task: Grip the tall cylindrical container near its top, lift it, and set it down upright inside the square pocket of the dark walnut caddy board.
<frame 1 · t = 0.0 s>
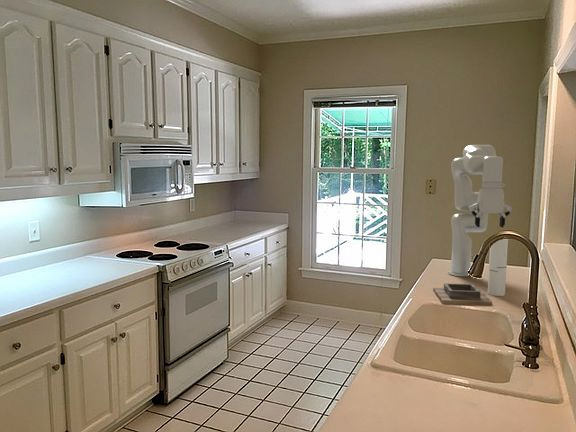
hand: (489, 226, 209), 31 cm above the countertop, tool pointing down, fingers open, 9 cm apart
cylindrical container: (496, 294, 221), on the countertop
walnut caddy: (461, 297, 214), on the countertop
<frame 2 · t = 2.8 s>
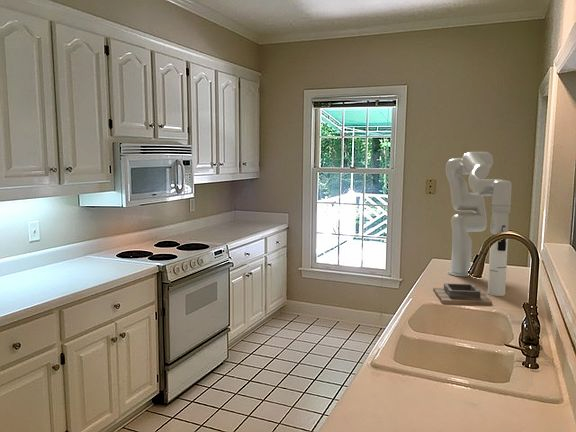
hand: (498, 248, 218), 20 cm above the countertop, tool pointing down, fingers closed on cylindrical container, 7 cm apart
cylindrical container: (496, 294, 221), on the countertop, touching gripper
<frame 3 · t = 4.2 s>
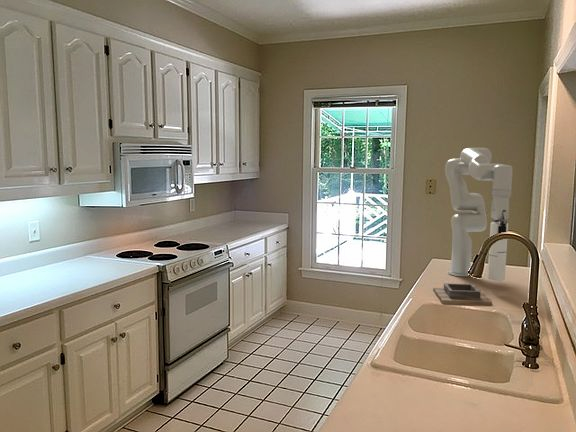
hand: (498, 233, 218), 27 cm above the countertop, tool pointing down, fingers closed on cylindrical container, 7 cm apart
cylindrical container: (495, 279, 221), point 6 cm above the countertop, touching gripper
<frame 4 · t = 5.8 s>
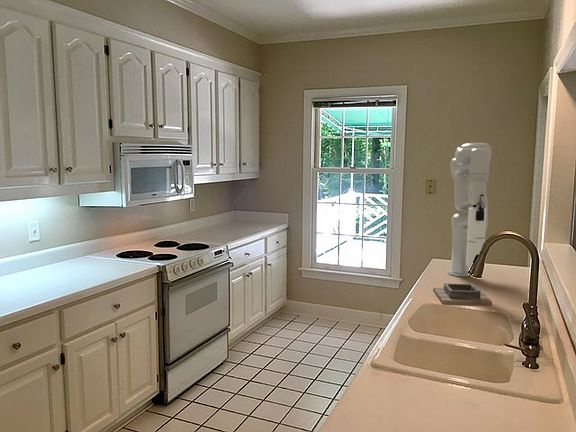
hand: (476, 219, 212), 34 cm above the countertop, tool pointing down, fingers closed on cylindrical container, 7 cm apart
cylindrical container: (474, 266, 215), point 13 cm above the countertop, touching gripper
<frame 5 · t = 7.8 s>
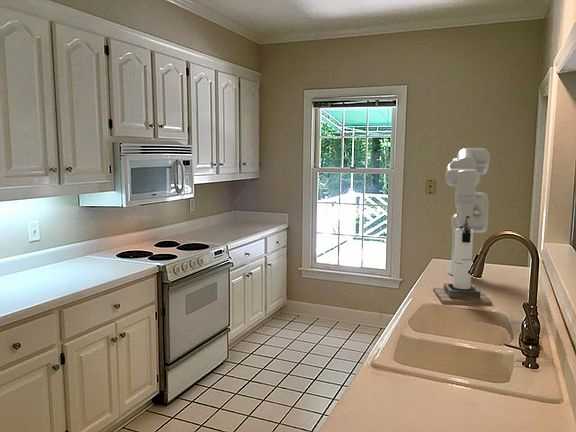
hand: (463, 240, 211), 25 cm above the countertop, tool pointing down, fingers closed on cylindrical container, 7 cm apart
cylindrical container: (461, 287, 214), point 5 cm above the countertop, touching gripper
when the fingers open (23 cm above the countertop, at t = 9.2 s): cylindrical container drops 1 cm, resting on walnut caddy.
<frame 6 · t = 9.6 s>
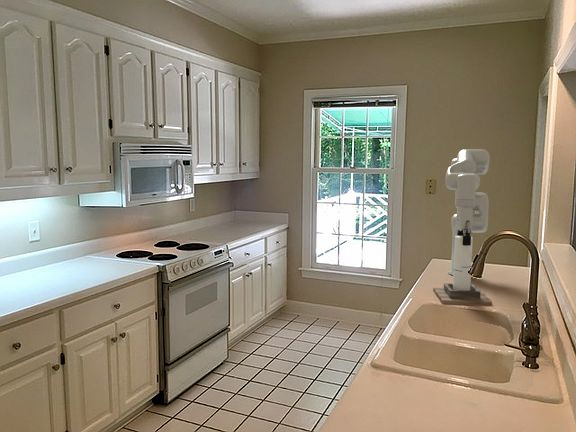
hand: (463, 243, 211), 24 cm above the countertop, tool pointing down, fingers open, 9 cm apart
cylindrical container: (461, 294, 214), point 1 cm above the countertop, touching walnut caddy
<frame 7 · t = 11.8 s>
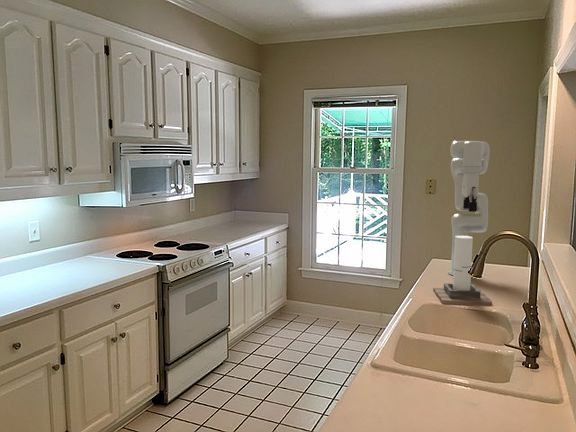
hand: (469, 209, 215), 38 cm above the countertop, tool pointing down, fingers open, 9 cm apart
nothing on the countertop moved.
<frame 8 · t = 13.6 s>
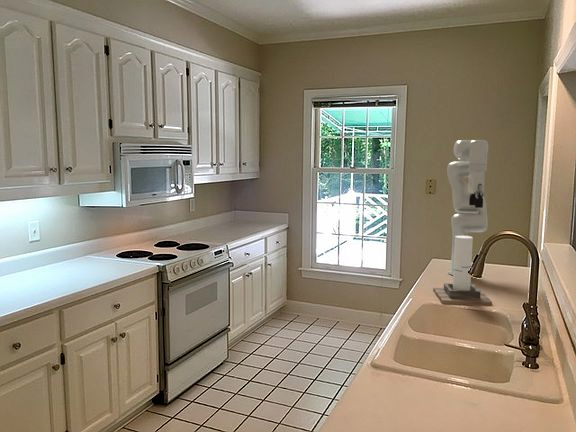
hand: (475, 206, 223), 38 cm above the countertop, tool pointing down, fingers open, 9 cm apart
nothing on the countertop moved.
at the end: cylindrical container 0.3 cm off-centre on the walnut caddy, point 1.3 cm above the walnut caddy's base; cylindrical container tilted 0°; the gripper is holding nothing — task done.
